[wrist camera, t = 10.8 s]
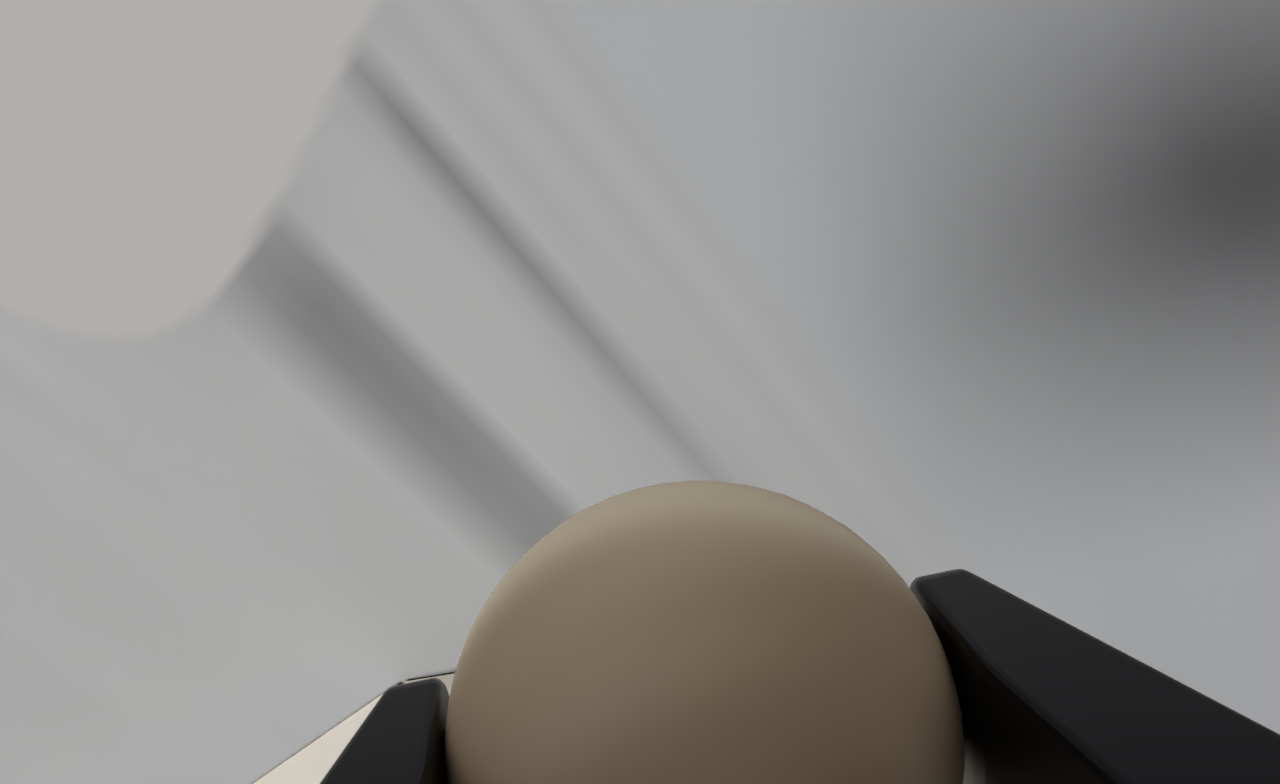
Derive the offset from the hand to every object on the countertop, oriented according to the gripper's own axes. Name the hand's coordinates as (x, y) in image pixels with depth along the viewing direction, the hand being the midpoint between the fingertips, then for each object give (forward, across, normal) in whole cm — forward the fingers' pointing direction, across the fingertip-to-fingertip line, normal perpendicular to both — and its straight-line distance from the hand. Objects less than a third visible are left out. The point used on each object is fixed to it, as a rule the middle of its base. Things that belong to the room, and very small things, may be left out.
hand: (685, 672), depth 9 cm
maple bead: (-1, 0, 0) cm, 1 cm away
